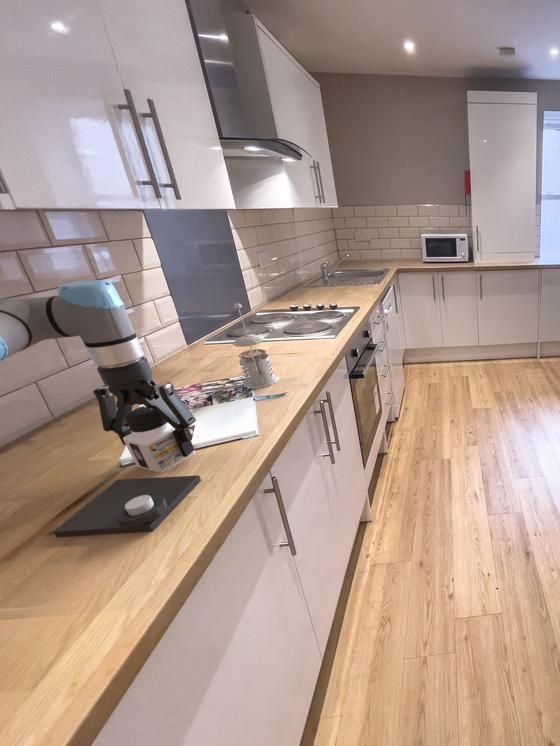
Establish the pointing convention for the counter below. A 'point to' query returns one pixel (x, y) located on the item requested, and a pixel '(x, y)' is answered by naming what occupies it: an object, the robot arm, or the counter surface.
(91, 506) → the scale
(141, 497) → the button
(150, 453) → the container
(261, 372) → the french press
